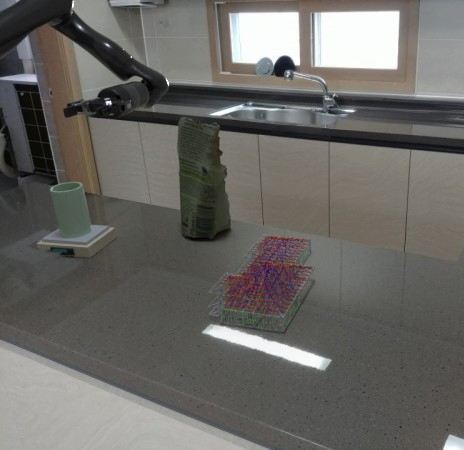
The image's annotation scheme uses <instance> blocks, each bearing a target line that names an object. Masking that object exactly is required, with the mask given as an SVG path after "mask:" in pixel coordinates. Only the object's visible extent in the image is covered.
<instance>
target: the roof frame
mask: <svg viewBox="0 0 464 450" xmlns="http://www.w3.org/2000/svg"><path fill="white" fill-rule="evenodd" d="M262 238H263V239H262ZM311 241H312V239H311V238H310V239H309V238H299V237H297V238H296V237H289V236H287V237H285V236H278V235H277V236H274V235H271V234H264V233H263V234H262V235H261V236H260V237H259V238H258V239H257V241H256V242H255V243H254V244H253V245H252V246H251V248H249V249H248V251H247V252H246V253H245V254H244V255H243V258H244V259H248V260H246V262H245V263H244V264H243V265H242V266H241V267H240V269H239V270H238V271H237V272H236V273H234V272H225V273H224V274H223V275H222V276H221V277H220V278H219V280H218V281H217V282H215V284H214V285H213V286H212V287H211V288H210V289H209V291H208V292H207V293H208V294H212V295H216V297H215V298H214V299H213V300H212V301H210V303H209V304H208V306H207V308H209V309H212V310H210V312H209V313H208V316H211V317H216V318H220V321H221V324H226V325H227V324H228V325H235V326H239V325H240V326H241V327H247V328H248V327H249V328H255V329H260V330H261V329H262V330H267V331H273V330H274V331H275V332H282V333H284V332H285V331H286V330H287V328H288V326H289V325H290V323H291V321H292V319H293V317H294V316H295V314H296V312H297V310H298V309H299V307H300V306H301V303H302V296H301V295H302V293H301V292H302V291H303V290H304V288H305V286H306V284H307V283H308V281H309V279H310V278H311V276H312V275H313V273H314V271H315V270H316V266H315V265H308V264H306V265H305V262H306V261H307V259H308V258H309V256H310V255H311V253H312V242H311ZM291 251H292V252H291ZM251 259H252V260H251ZM301 262H302V263H301ZM244 267H245V268H244ZM306 272H307V273H308V274H307V273H306ZM298 273H299V274H298ZM301 274H302V275H301ZM304 276H305V277H304ZM293 280H294V281H293ZM300 284H301V285H300ZM274 285H276V286H274ZM297 287H299V288H297ZM214 291H215V292H214ZM278 291H279V292H278ZM217 292H218V293H217ZM280 292H281V293H280ZM266 295H267V296H266ZM279 296H281V297H280V298H279ZM270 298H271V300H272V301H271V300H268V299H270ZM275 300H277V301H275ZM280 301H281V302H282V303H281V302H280ZM286 301H288V302H286ZM289 302H291V303H289ZM270 303H271V305H270ZM296 303H298V305H297V306H296ZM274 304H276V306H275V307H274ZM284 305H287V306H288V307H286V306H284ZM230 307H231V308H230ZM234 308H236V309H234ZM216 309H217V310H216ZM241 309H242V310H241ZM282 309H283V310H284V309H285V310H286V311H283V310H282ZM213 311H214V312H213ZM266 311H267V312H271V314H265V313H266ZM278 312H279V314H280V315H278V316H277V313H278ZM216 313H217V314H216ZM273 313H274V315H272V314H273ZM288 314H289V315H291V317H289V320H288V321H287V318H286V316H287V315H288ZM231 315H232V316H231ZM238 315H239V316H238ZM245 316H246V319H245ZM265 316H266V317H265ZM268 316H269V317H271V318H269V320H267V318H268ZM232 317H233V319H232ZM240 319H241V322H242V324H241V323H240ZM261 319H262V321H263V322H262V323H263V325H264V326H262V325H261V326H260V325H259V321H260V320H261ZM264 319H265V320H266V321H265V320H264ZM225 320H226V321H225ZM233 320H234V322H238V323H233ZM271 320H278V322H282V323H278V326H282V328H275V325H274V324H275V323H274V321H272V322H271ZM250 324H252V325H250ZM265 324H266V325H265ZM269 327H270V328H269Z"/></svg>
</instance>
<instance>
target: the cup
mask: <svg viewBox="0 0 464 450" xmlns="http://www.w3.org/2000/svg"><path fill="white" fill-rule="evenodd" d="M49 193H50V197H51V201H52V205H53V210H54V213H55V218H56V223H57V226H58V229H59V231H60V234H61V236H62V237H64V238H76V237H81V236H84V235H86V234H88V233H90V232H91V231H92V225H93V224H92V220H91V216H90V212H89V207H88V202H87V197H86V193H85V188H84V185H83V183H82V182H79V181H68V182H62V183H58V184H55V185H53V186H51V187H50V188H49Z"/></svg>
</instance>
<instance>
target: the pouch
mask: <svg viewBox="0 0 464 450" xmlns="http://www.w3.org/2000/svg"><path fill="white" fill-rule="evenodd" d="M200 122H201V121H200V117H198V118H197V120H193V119H192V118H190V117H187V116H182V117H179V120H178V121H177V125H178V126H177V127H178V129H177V143H176V145H177V146H176V150H177V157H178V167H179V168H178V178H179V206H180V207H179V209H180V221H181V226H180V228H181V233H182V234H183V235H184V236H185V237H188V238H193V239H195V238H208V239H210V240H213V238H214V237H215V236H216V235H217V234H218V233H220V232H223V231H225V230H232V227H231V225H232V222H231V221H232V218H231V212H230V207H231V206H230V200H229V195H228V193H227V191H226V180H225V179H226V178H227V177H228V172H227V170H228V168H227V166H226V165H225V164H222V161H221V156H223V153H224V151H223V150H221V149H220V140H221V137H220V136H219V135H220V130H221V125H220V124H218V123H217V122H212V123H210V124H209V123H207V122H204V123H200Z"/></svg>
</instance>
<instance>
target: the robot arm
mask: <svg viewBox="0 0 464 450" xmlns="http://www.w3.org/2000/svg"><path fill="white" fill-rule="evenodd" d="M74 7H75V1H74V0H18V1H16V2H15V3H13V4H12V5H10V6H7V7H6V8H4V9H2V10H0V60H2V59H4V58H5V57H6V56H7V55H9V54H10V53H11V52H13V50H15V49H16V48H17V47H18V46H19V45H20V44H21V43H22V42H23V41H24V40H25V39H26V38H27V37H28V36H30V35H31V33H33V32H34V31H36V30H39V28H41V27H44V26H45V25H47V26H49V27H50V28H52V29H53V30H55V31H56V32H58V33H60V34H61V35H62V36H64V37H66V38H68V39H69V40H70V41H72V42H73V43H75V44H76V45H77V46H79V47H80V48H82V49H83V50H84V51H85V52H87V54H89V55H90V56H92V57H93V58H94V59H95V60H96V61H98V62H99V63H100V64H102V65H103V67H104V68H106V69H107V70H108V71H110V73H112V74H113V75H114V76H115V77H116V78H118V79H119V81H122V82H126V83H119V84H115V85H112V86H108V87H105V88H102V89H101V90H99V91H98V93H97V96H95V97H92V98H90V99H79V100H75V101H71V102H67V103H66V107H64V108H63V109H62V112H63V116H64V118H68V119H69V118H71V117H75V116H78V115H84V116H91V115H96V118H97V119H102V118H105V117H106V118H110V119H118V118H120V117H123V116H125V115H128V114H130V113H133V112H134V111H135V110H137V109H150V108H152V107H154V106H155V105H157V103H158V102H159V101H160V100H161V99H162V98H163V96H164V95H165V94H166V93H167V92H168V91H169V88H170V84H169V81H168V79H167V78H166V77H165V76H164V74H162V73H161V72H159V71H158V70H156V69H153V68H152V67H149V66H148V65H146V64H145V63H142V62H140V60H139V61H138V60H137V59H135V57H134V56H132V55H131V54H130V53H129V52H128V51H127V50H125V49H124V48H123V46H121V45H120V44H118V43H117V42H116V41H114V40H113V39H111V38H109V37H108V36H106V35H104V34H102V33H100V32H99V31H97V30H95V29H94V28H93V27H91V26H90V25H89V24H88V23H86V22H85V21H84V20H83V19H82V18H81V17H80V16H79V15H78V14H77V13H76V11H75V10H74ZM134 77H138V78H141V80H140V81H138V80H133V81H129V80H131V79H132V78H134ZM88 108H89V111H88Z"/></svg>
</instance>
